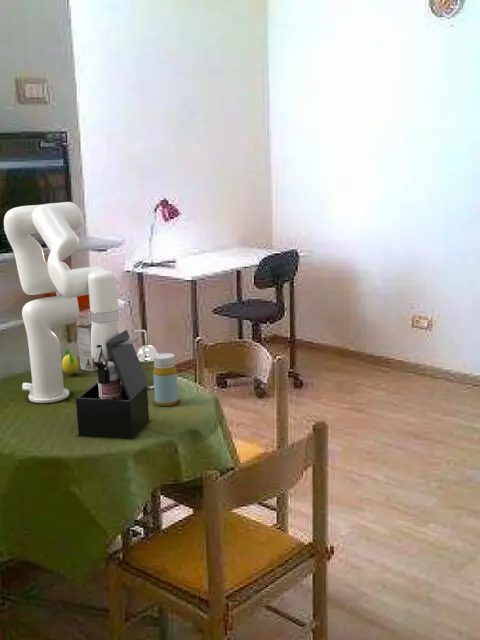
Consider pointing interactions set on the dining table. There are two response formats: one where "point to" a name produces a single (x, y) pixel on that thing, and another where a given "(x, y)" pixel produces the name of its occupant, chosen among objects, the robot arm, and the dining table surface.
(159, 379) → the bottle
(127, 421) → the waste bin
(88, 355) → the coffee box
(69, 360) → the lemon
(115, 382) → the pill bottle
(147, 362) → the cup with straw
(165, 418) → the dining table surface
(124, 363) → the bin lid
